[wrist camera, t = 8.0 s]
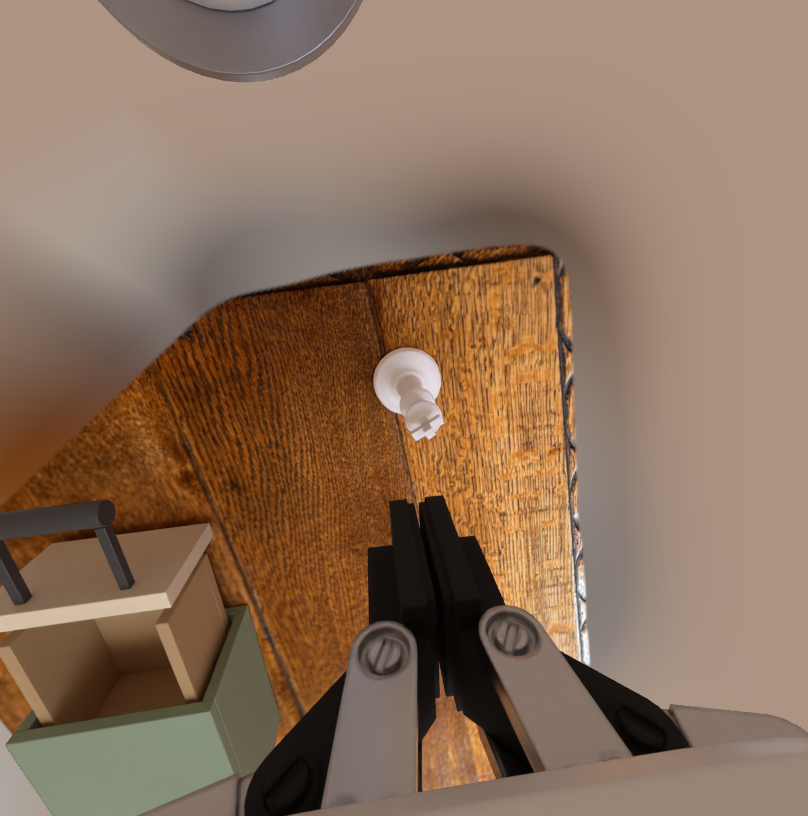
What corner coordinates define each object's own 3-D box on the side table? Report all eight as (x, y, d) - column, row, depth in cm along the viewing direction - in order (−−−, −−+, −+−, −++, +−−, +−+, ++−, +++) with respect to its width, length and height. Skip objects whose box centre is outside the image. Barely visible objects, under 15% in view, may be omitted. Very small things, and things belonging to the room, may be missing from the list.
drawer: (17, 472, 26) (-97, 535, 19) (188, 451, 27) (133, 506, 20) (113, 671, 32) (51, 769, 26) (248, 650, 33) (221, 740, 27)
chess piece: (452, 389, 28) (497, 444, 19) (397, 424, 29) (414, 496, 19) (417, 333, 26) (447, 363, 17) (359, 372, 27) (358, 422, 18)
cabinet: (95, 626, 32) (3, 745, 24) (247, 604, 33) (209, 711, 24) (149, 738, 37) (88, 869, 28) (280, 716, 37) (257, 837, 29)
